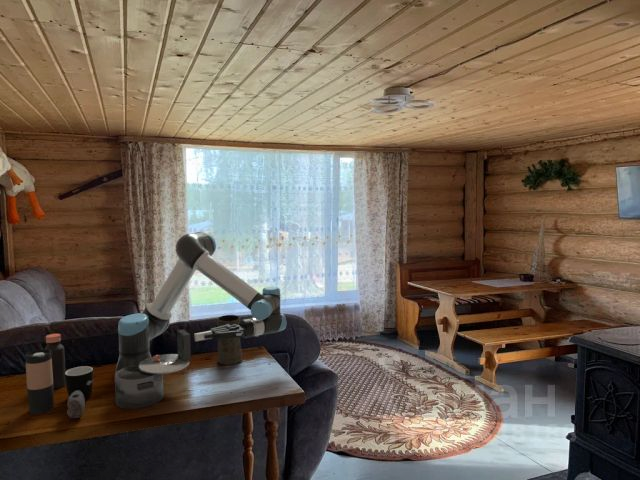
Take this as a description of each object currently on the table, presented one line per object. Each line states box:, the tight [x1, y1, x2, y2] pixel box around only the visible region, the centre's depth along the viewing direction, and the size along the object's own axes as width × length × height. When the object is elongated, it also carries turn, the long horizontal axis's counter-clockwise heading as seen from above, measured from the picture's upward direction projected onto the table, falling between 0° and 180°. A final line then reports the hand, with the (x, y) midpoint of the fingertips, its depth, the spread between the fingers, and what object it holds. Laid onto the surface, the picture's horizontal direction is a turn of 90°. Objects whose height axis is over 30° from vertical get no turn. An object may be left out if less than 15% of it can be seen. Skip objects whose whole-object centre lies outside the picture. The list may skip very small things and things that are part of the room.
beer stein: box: [216, 314, 243, 366], centre depth 202 cm, size 15×11×20 cm
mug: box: [65, 365, 94, 400], centre depth 164 cm, size 12×9×10 cm
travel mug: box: [25, 348, 55, 415], centre depth 153 cm, size 8×8×20 cm
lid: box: [139, 329, 192, 375], centre depth 166 cm, size 18×18×11 cm
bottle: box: [44, 333, 66, 390], centre depth 173 cm, size 7×7×20 cm
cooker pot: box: [114, 364, 164, 410], centre depth 162 cm, size 20×16×10 cm
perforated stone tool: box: [66, 390, 86, 420], centre depth 152 cm, size 15×5×7 cm, turn 24°
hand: (195, 337), depth 173 cm, fingers closed
